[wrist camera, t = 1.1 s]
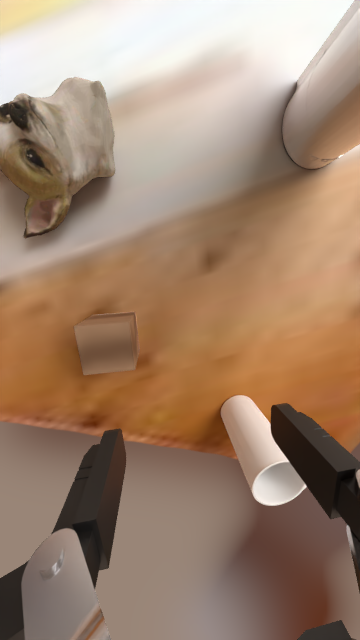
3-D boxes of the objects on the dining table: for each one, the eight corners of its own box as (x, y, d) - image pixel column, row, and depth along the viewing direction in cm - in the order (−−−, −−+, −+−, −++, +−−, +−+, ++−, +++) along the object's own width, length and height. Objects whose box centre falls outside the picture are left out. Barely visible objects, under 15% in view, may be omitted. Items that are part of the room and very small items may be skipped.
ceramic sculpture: (132, 142, 15) (-22, 234, 16) (146, 188, 23) (45, 246, 24) (46, -40, 12) (-133, 86, 13) (97, 88, 20) (-14, 158, 21)
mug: (211, 416, 32) (240, 494, 21) (234, 386, 32) (277, 452, 20) (253, 438, 35) (300, 519, 23) (275, 411, 34) (336, 482, 22)
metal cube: (92, 314, 26) (73, 326, 20) (135, 311, 27) (129, 322, 21) (99, 353, 28) (83, 375, 22) (139, 350, 28) (135, 369, 22)
